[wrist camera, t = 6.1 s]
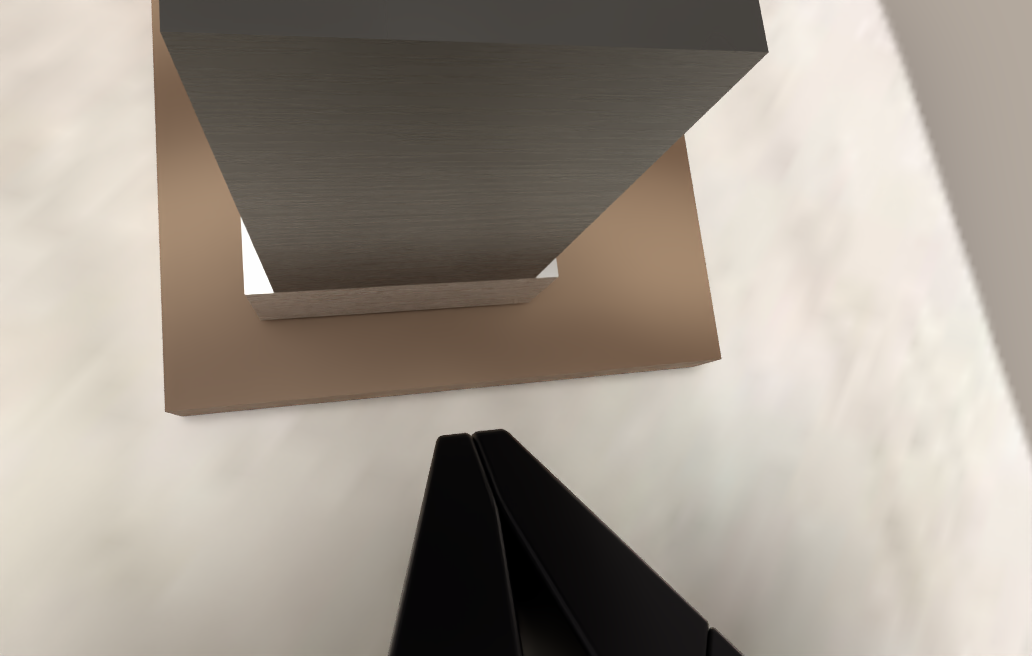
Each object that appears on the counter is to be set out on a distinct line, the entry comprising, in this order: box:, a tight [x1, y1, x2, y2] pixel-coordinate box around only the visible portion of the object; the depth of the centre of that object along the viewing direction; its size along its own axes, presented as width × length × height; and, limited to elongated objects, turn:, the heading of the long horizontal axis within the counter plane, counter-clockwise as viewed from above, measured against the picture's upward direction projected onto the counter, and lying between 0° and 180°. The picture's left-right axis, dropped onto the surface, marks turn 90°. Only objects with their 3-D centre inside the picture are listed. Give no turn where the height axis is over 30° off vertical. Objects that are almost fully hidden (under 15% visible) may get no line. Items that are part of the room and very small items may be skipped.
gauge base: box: [151, 0, 721, 416], centre depth 15 cm, size 13×13×8 cm
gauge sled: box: [159, 0, 768, 320], centre depth 11 cm, size 6×7×10 cm
